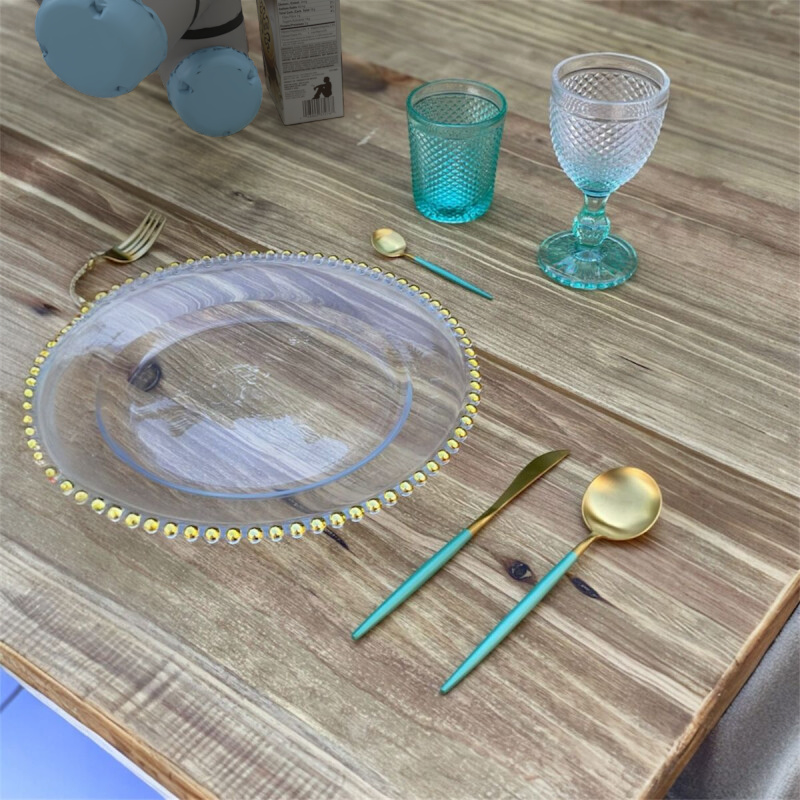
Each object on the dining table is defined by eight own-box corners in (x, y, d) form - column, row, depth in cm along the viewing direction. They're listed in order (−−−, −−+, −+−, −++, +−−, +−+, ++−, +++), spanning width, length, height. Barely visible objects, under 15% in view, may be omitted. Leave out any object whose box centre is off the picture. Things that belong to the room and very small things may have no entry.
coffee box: (263, 85, 96) (244, -82, 85) (323, 76, 98) (312, -90, 86) (283, 127, 90) (265, -47, 79) (347, 116, 92) (338, -56, 80)
